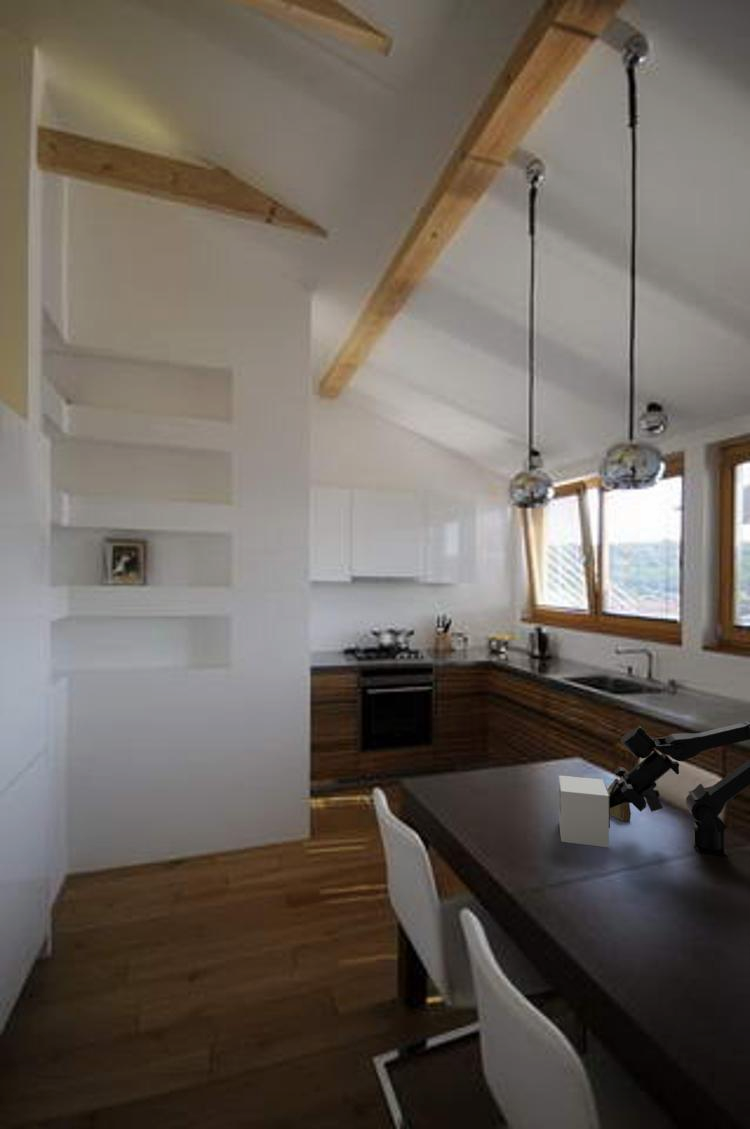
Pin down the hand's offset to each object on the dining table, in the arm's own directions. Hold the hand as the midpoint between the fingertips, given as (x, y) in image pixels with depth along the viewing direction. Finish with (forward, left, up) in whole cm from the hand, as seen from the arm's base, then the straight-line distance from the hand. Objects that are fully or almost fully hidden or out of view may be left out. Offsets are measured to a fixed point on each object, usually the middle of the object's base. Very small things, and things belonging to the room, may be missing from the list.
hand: (606, 807), depth 158 cm
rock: (-4, -17, -8) cm, 19 cm away
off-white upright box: (+6, 0, -8) cm, 10 cm away
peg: (+6, 0, -2) cm, 7 cm away
